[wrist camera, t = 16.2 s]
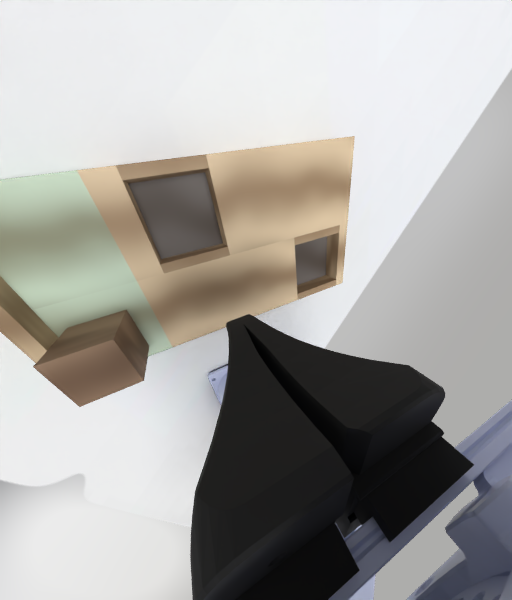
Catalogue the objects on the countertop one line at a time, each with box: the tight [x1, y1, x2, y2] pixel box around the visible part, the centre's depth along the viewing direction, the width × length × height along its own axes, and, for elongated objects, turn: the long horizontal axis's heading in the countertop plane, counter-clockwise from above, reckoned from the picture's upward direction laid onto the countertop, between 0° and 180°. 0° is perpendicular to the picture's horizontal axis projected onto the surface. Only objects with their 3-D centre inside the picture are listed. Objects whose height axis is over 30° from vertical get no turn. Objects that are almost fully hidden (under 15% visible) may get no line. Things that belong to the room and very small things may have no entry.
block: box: [33, 310, 149, 407], centre depth 13 cm, size 4×4×4 cm
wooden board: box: [0, 136, 355, 363], centre depth 16 cm, size 14×28×4 cm, turn 100°
